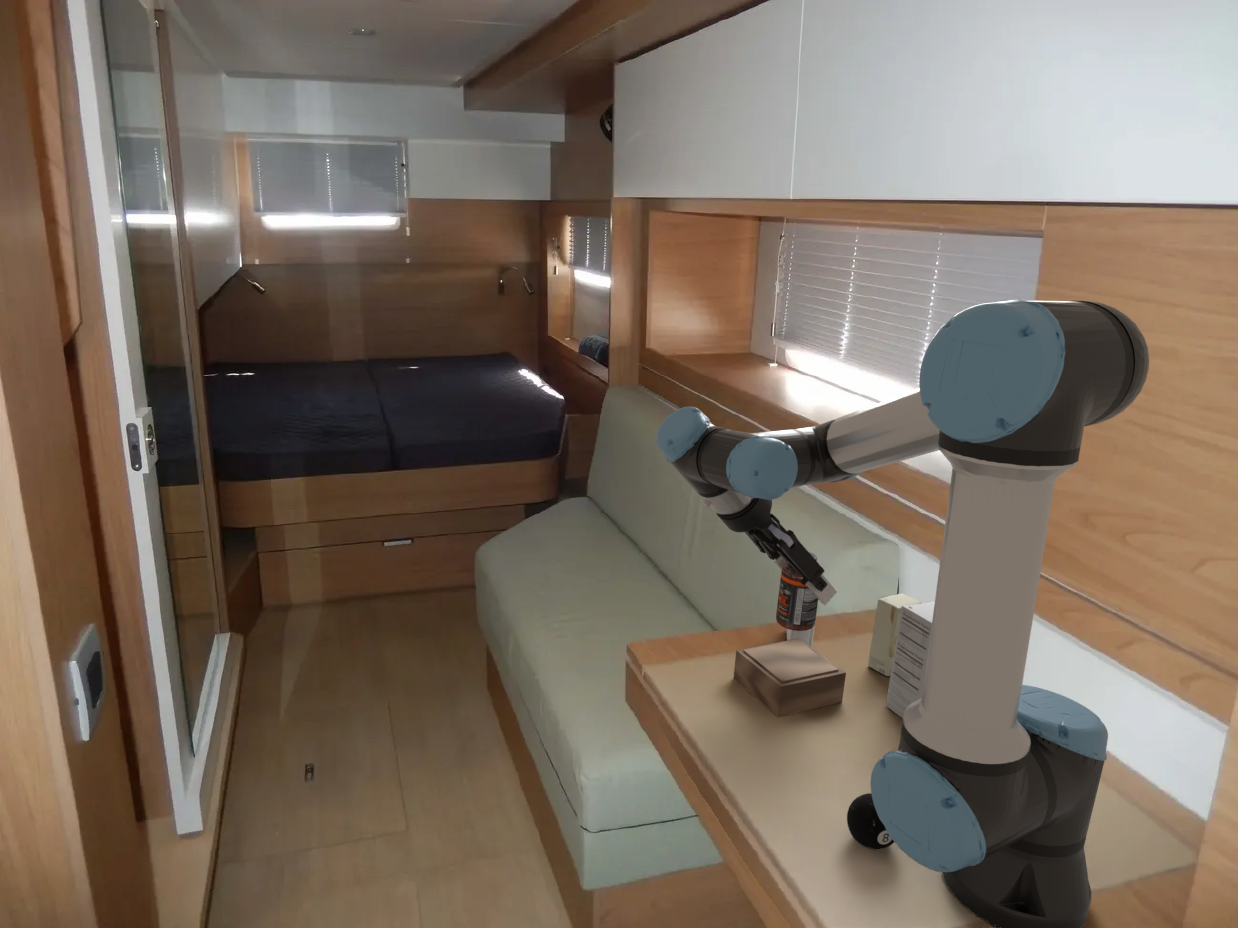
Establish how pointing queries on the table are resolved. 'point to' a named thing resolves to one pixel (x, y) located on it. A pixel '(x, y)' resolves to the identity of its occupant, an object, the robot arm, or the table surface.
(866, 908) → the table surface
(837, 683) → the wooden box
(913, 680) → the supplement box
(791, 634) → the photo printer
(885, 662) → the skincare box
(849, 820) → the billiard ball
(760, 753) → the table surface
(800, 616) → the supplement bottle
